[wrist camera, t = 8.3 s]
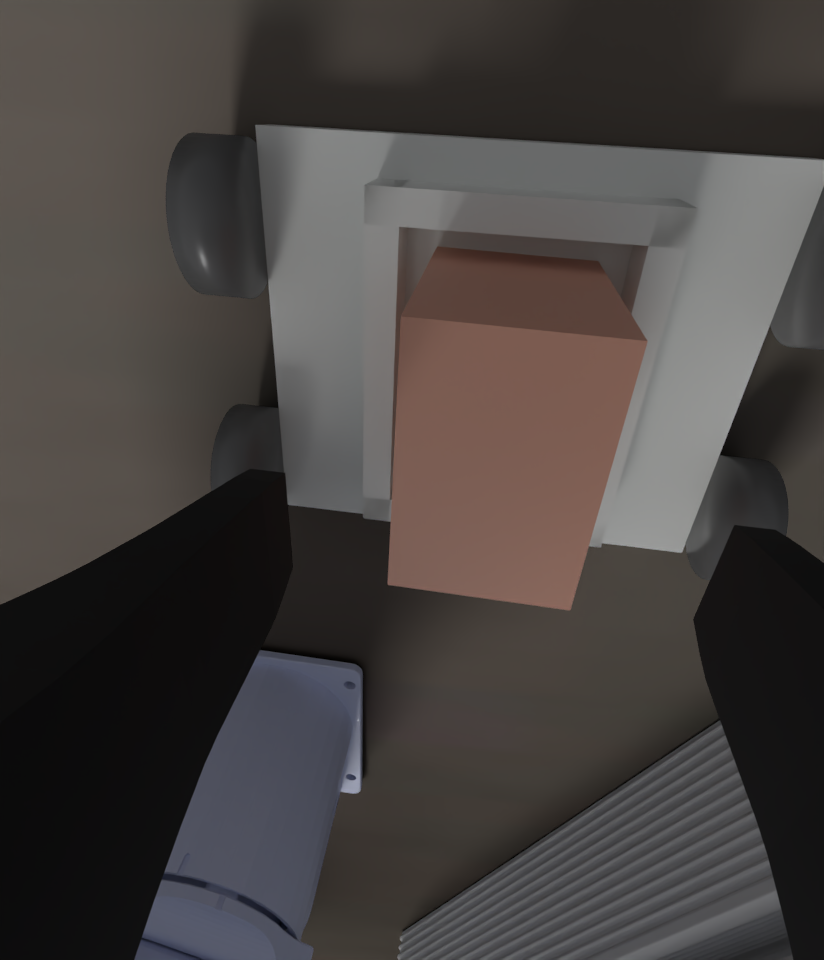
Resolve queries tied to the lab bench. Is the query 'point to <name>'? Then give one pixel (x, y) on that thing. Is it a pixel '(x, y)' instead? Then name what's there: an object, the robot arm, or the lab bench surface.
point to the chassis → (510, 229)
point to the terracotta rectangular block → (507, 423)
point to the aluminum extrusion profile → (629, 878)
